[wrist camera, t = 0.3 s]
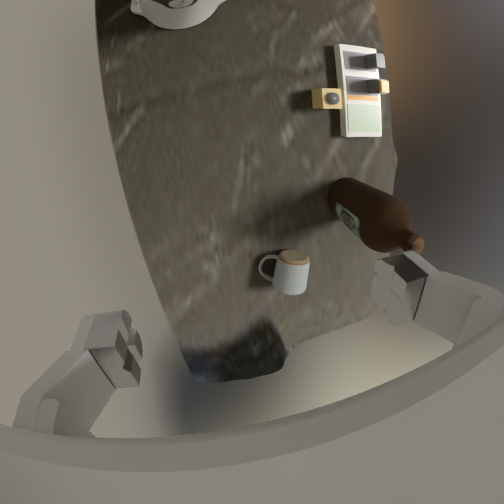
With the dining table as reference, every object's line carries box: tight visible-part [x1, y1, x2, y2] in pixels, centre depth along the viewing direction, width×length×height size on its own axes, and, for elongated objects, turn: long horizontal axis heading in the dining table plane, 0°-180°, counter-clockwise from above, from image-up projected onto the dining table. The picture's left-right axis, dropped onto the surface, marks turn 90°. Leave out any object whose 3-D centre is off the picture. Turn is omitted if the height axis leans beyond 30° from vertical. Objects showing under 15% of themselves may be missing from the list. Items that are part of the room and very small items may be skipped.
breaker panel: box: [334, 44, 382, 137], centre depth 48 cm, size 20×9×3 cm, turn 6°
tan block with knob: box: [311, 88, 342, 109], centre depth 47 cm, size 4×4×6 cm
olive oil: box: [328, 178, 424, 255], centre depth 50 cm, size 11×11×25 cm
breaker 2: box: [367, 79, 389, 94], centre depth 44 cm, size 3×2×5 cm, turn 6°
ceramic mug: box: [259, 250, 310, 295], centre depth 62 cm, size 11×8×8 cm
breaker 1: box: [365, 53, 385, 69], centre depth 42 cm, size 3×2×4 cm, turn 6°
